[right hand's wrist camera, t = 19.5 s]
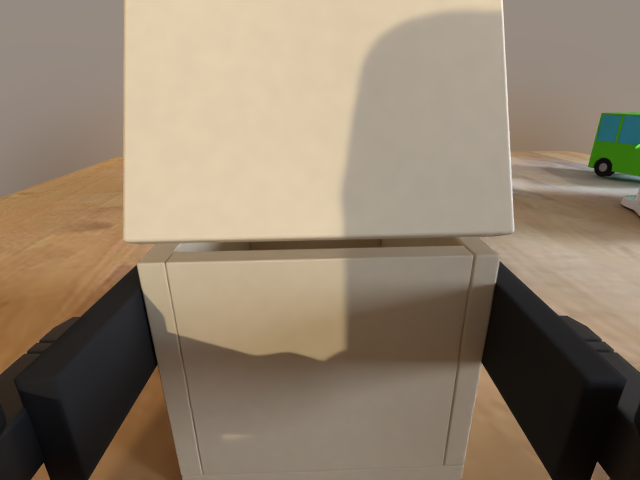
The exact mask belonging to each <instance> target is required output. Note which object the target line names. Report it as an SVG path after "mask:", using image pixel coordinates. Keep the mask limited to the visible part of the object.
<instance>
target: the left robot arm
mask: <svg viewBox="0 0 640 480" xmlns="http://www.w3.org/2000/svg"><path fill="white" fill-rule="evenodd" d="M621 205H623V206H625V207H628V208H630V209H633V210H634V211H635V212H636V213H637V214H638V215H639V216H640V189H639V191H638V194H637V195H632V196H625V197H624V198H623V200H622V203H621Z"/></svg>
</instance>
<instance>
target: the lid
mask: <svg viewBox="0 0 640 480" xmlns="http://www.w3.org/2000/svg"><path fill="white" fill-rule="evenodd" d="M123 111H124V112H123V240H124V242H127V243H135V244H173V243H217V242H262V241H306V240H350V239H395V238H439V237H483V236H500V235H508V234H512V233H513V232H514V215H513V195H512V176H511V156H510V137H509V118H508V97H507V78H506V58H505V39H504V19H503V0H124V110H123Z"/></svg>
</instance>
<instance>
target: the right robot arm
mask: <svg viewBox="0 0 640 480" xmlns="http://www.w3.org/2000/svg"><path fill="white" fill-rule="evenodd" d="M39 341H40V342H39V343H36V344H35V345H34V346H33V347H32V348H30V349H29V350H28V351H27V354H24V355H22V356H21V357H20V358H19V359H18V360H17V361H16V362H14V363H13V364H12V365H11V366H10V367H9V368H8V369H6V370H5V371H4V372H3V373H2V374H1V375H0V480H31V479H32V477H33V476H34V475H35V473H36V472H37V471H38V469H39V468H40V467H41V465H42V464H43V463H44V464H45V467H46V469H47V472H48V475H49V478H50V480H88V479H89V477H90V476H91V474H92V472H93V471H94V469H95V467H96V466H97V464H98V462H99V461H100V459H101V457H102V456H103V454H104V452H105V451H106V449H107V447H108V446H109V444H110V442H111V441H112V439H113V438H114V436H115V434H116V433H117V431H118V429H119V428H120V426H121V424H122V423H123V421H124V419H125V418H126V416H127V414H128V413H129V411H130V409H131V408H132V406H133V404H134V403H135V401H136V399H137V398H138V396H139V394H140V393H141V391H142V389H143V388H144V386H145V384H146V383H147V381H148V379H149V378H150V376H151V374H152V373H153V371H154V369H155V368H156V366H157V359H156V354H155V349H154V345H153V340H152V335H151V330H150V326H149V321H148V316H147V311H146V307H145V302H144V297H143V292H142V288H141V283H140V278H139V273H138V269H137V265H136V266H135V267H134V268H133V269H132V270H131V271H130V272H129V273H127V274H126V275H125V276H124V277H123V278H122V279H121V280H120V281H119V282H118V283H117V284H116V285H115V286H113V287H112V288H111V289H110V290H109V291H108V292H107V293H106V294H105V295H104V296H103V297H102V298H101V299H99V300H98V301H97V302H96V303H95V304H94V305H93V306H92V307H91V308H90V309H89V310H88V311H87V312H85V313H84V314H83V315H82V316H81V317H73V318H71V319H69V320H67V321H66V322H64V323H62V324H60V325H58V326H56V327H55V328H53V329H52V330H51V331H50V332H49V333H47V334H46V335H45V336H44V337H43V338H42V339H41V340H39ZM481 362H482V364H483V365H484V367H485V369H486V370H487V372H488V374H489V375H490V377H491V379H492V380H493V382H494V384H495V385H496V387H497V389H498V390H499V392H500V394H501V395H502V397H503V399H504V400H505V402H506V404H507V405H508V407H509V409H510V410H511V412H512V414H513V415H514V417H515V419H516V420H517V422H518V424H519V425H520V427H521V428H522V430H523V432H524V433H525V435H526V437H527V438H528V440H529V442H530V443H531V445H532V447H533V448H534V450H535V452H536V453H537V455H538V457H539V458H540V460H541V462H542V463H543V465H544V467H545V468H546V470H547V472H548V473H549V475H550V477H551V478H552V480H590V479H591V476H592V474H593V471H594V468H595V466H596V463H597V461H598V463H599V464H600V465H601V467H602V468H603V469H604V470H605V472H606V473H607V474H608V476H609V477H610V479H609V480H640V372H639V371H638V370H636V369H635V368H634V367H633V366H632V365H631V364H629V363H628V362H627V361H626V360H625V359H624V358H623V357H621V356H620V355H619V354H618V353H614V350H613V349H612V348H611V347H610V346H609V345H608V344H606V343H605V342H602V339H601V338H600V337H598V336H597V335H596V334H595V333H594V332H593V331H591V330H590V329H589V328H588V327H587V326H585V325H583V324H581V323H579V322H578V321H576V320H574V319H572V318H570V317H568V316H558V315H557V314H556V313H555V312H554V311H553V310H552V309H551V308H550V307H549V306H547V305H546V304H545V303H544V302H543V301H542V300H541V299H540V298H539V297H538V296H537V295H536V294H535V293H533V292H532V291H531V290H530V289H529V288H528V287H527V286H526V285H525V284H524V283H523V282H522V281H521V280H519V279H518V278H517V277H516V276H515V275H514V274H513V273H512V272H511V271H510V270H509V269H508V268H506V267H505V266H504V265H503V264H502V263H501V262H499V268H498V273H497V279H496V285H495V291H494V296H493V302H492V308H491V313H490V318H489V324H488V329H487V334H486V340H485V345H484V350H483V356H482V361H481Z"/></svg>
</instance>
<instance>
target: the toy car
mask: <svg viewBox="0 0 640 480" xmlns="http://www.w3.org/2000/svg"><path fill="white" fill-rule="evenodd" d="M588 167H591V168H594V171H595V173H596V174H597V175H599V176H610V175H612V174H613V173H614V172H619V173H624V174H630V175H635V176H640V112H630V113H602V114H601V118H600V122H599V126H598V130H597V133H596V137H595V141H594V145H593V149H592V153H591V157H590V161H589V165H588Z"/></svg>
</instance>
